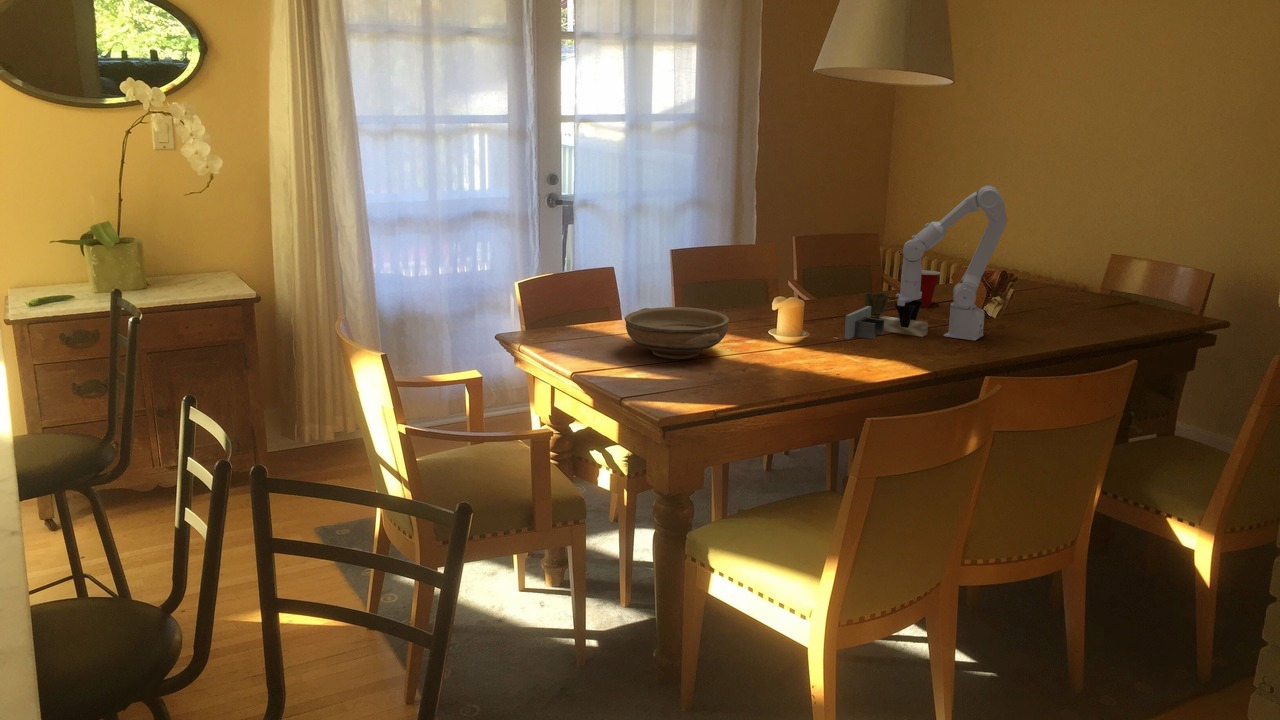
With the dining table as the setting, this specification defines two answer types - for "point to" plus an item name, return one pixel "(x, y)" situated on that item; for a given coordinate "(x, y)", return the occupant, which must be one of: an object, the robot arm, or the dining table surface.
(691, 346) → the ceramic bowl
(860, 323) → the bracket
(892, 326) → the rail
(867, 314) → the backboard
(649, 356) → the dining table surface
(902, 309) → the robot arm
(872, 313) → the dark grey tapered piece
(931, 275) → the plastic cup
